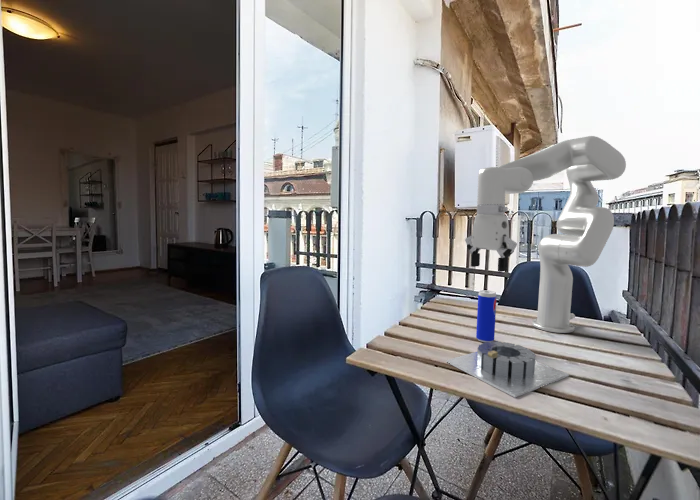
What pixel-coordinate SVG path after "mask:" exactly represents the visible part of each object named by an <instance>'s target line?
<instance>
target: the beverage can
mask: <svg viewBox="0 0 700 500" xmlns="http://www.w3.org/2000/svg"><path fill="white" fill-rule="evenodd" d="M477 295H478V296H477V312H476V313H477V315H476V334H475V335H476V336H475V337H476V339H477V340H478V341H479V342H480V343H481V342H482V343H486V342H489V343H490V342H494V340H495V332H496V316H497V312H496V311H497V298H498V297H497V296H498V295H497V293H496V291H493V290H485V289H483V290H479V291H478V294H477Z"/></svg>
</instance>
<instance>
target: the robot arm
mask: <svg viewBox="0 0 700 500" xmlns="http://www.w3.org/2000/svg"><path fill="white" fill-rule="evenodd" d="M626 162H627V161H626V158H625V157H624V156H623V154H622V153H621V152H620V151H619V150H618V149H616V148H615V147H613V146H612V144H610V143H609V142H608V141H606V140H604V139H603V138H601V137H598V136H595V135H589V136H582V137H577V138H571V139H566V140H564V141H561V142H558V143H555V144H554V145H552V146H550V147H548V148H545V149H543V150H540V151H539V152H536V153H533V154H530V155H527V156H525V157H524V156H523V157H522V158H519V159H515V160H513V161H511V162H507V163H505V164H503V165H501V166H491V167H490V166H488V167H484V168H481V169H479V171H478V176H477V177H478V178H477V200H476V201H477V202H476V203H477V204H476V215H475V216H474V221H473V226H472V232H471V233H472V234H471V235H469V236H468V237H466V238H465V239H464V241H465V244H466V247H467V248H466V249H468V251H469V254H470V267H472V268H474V267H479V266H480V263H481V262H480V261H481V253H480V251H481V250H488V251H496V252H497V254H498V255H499V257H498V259H497V260H498V262H497V272H507V271H508V267H509V265H508V263H509V261H508V260H509V258H510V257H511V255H512V254H513V253H514V252H515V249H516V247H517V246H518V243H517V242H516V241H515V240H513V239H512V238H510V225H509V220H508V216H507V215H505V212H508V210H509V209H508V207H507V206H506V195H508V194H522V193H524V192H526V191H528V190H529V189H531V188H532V186H533V184H534V182H535V181H536V182H537V181H542V180H545V179H549V178H551V177H554V176H555V175H558V174H559V173H561V172H562V171H565V170H566V177H567V180H568V183H569V188H570V193H569V197H568V199H567V200H566V203H565V205H564V207H563V208H562V209H561V213H560V214H559V217H558V218H557V220H556V229H557V231H559V232H560V233H561V234H560V233H553V234H552V233H551V234H547V235H545V236H544V237H542V238H541V239H540V241H539V244H538V256H539V264H540V266H539V267H540V269H539V270H540V271H539V288H538V304H537V315H536V316H537V317H536V318H534V319H532V320H531V325H532V326H533V327H534V328H536V329H538V330H541V331H545V332H550V333H556V334H557V333H558V334H569V333H573V332H574V331H575V328H576V327H575V326H574V325H573V324H572V323H570V321H571V320H573V319H576V315H575V314H574V313H573V312H572V313H571V306H572V296H573V292H572V291H573V283H574V276H573V272H572V270H571V268H570V266H575V267H585V268H587V267H591V266H593V265H594V264H596V262H597V261H598V260H599V258H600V256H601V254H602V252H603V250H604V248H605V246H606V244H607V242H608V240H609V238H610V236H611V234H612V232H613V229H614V226H615V225H614V224H615V218H614V217H615V216H614V214H613V212H612V211H611V210H610V209H609V208H606V207H602V206H597V205H598V202H599V200H600V199H599V194H598V191H597V190H596V188H595V187H594V185H593V183H592V182H596V181H597V182H598V181H609V180H610V181H611V180H615V179H618V178H620V177H621V176H622V175H623V174H624V173H625V171H626V168H627V167H626V166H627V163H626ZM569 265H570V266H569Z"/></svg>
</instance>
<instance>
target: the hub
mask: <svg viewBox="0 0 700 500" xmlns="http://www.w3.org/2000/svg"><path fill="white" fill-rule="evenodd" d="M515 344H516V343H512V342H505V341H503V342H501V341H493V342H490V343H489V342H486V343H485V342H482V343H480V344H479V345H478V346H477V351H473V352H471V353H468V354H464V355H461V356H456V357H453V358H449V359H447V360H446V361H445V363H447V362H448V363H447V364H449V363H450V364H449V365H451V366H453V367H455V368H457V369H459V370H461V371H462V372H464V373H466V374H469V375H470V376H472V377H475V378H476V379H478V380H480V381H482V382H484V383H485V384H487V385H489V386H491V387H493V388H496V389H498V391H499V390H500V391H501V392H503V393H505V394H507V395H509V396H511V397H513V398H514V399H515V398H517V397H521V396H522V395H526V394H528V393H531V392H533V391H535V390H537V389H541V388H542V387H541V386H543V385H546V384H548V385H550V384H549V383H551V384H553V383H555V381H556V382H558V381H560V380H562V379H565V378H568V377H569V376H570V375H569V373H568V372H564V371H562V370H560V369H557V368H555V367H552V366H550V365H547V364H546V363H542V362H540V361H537V360H536V356H537V355H536V353H535V352H533V351H532V350H531V349H530V348H529V349H528V348H527V347H525V346H523V345H519V344H516V345H515ZM552 382H553V383H552ZM546 386H547V385H546ZM540 387H541V388H540ZM543 387H544V386H543Z"/></svg>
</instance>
